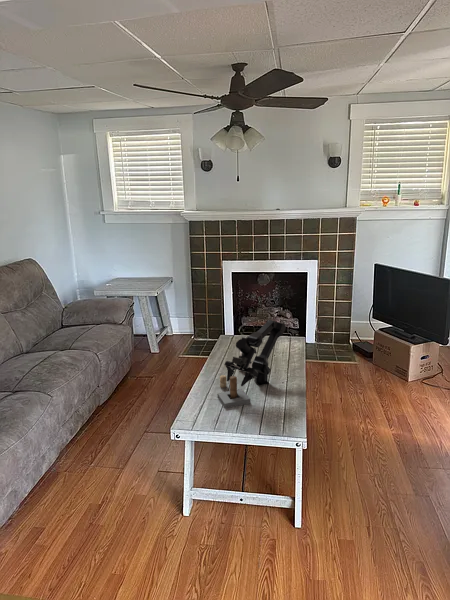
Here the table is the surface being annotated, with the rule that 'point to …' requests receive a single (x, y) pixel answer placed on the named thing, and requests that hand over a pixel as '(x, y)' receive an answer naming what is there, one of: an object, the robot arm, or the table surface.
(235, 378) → the walnut pin
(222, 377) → the short beech pin
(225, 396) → the slate hole plate
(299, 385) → the table surface
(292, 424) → the table surface
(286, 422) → the table surface
